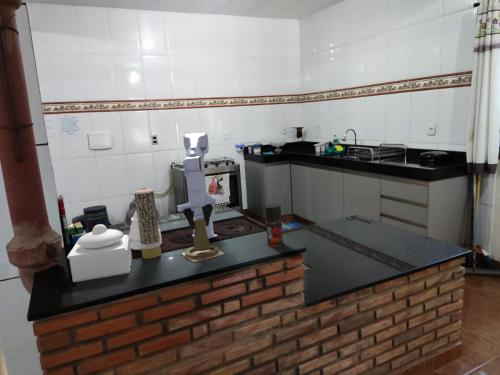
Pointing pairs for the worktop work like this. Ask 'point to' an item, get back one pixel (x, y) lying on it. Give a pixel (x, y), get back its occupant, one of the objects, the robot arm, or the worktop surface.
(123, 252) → the butter dish
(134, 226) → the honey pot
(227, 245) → the worktop surface
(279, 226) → the deodorant
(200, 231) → the khaki cylinder
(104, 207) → the storage jar
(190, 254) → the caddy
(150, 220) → the wooden log
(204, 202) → the robot arm
